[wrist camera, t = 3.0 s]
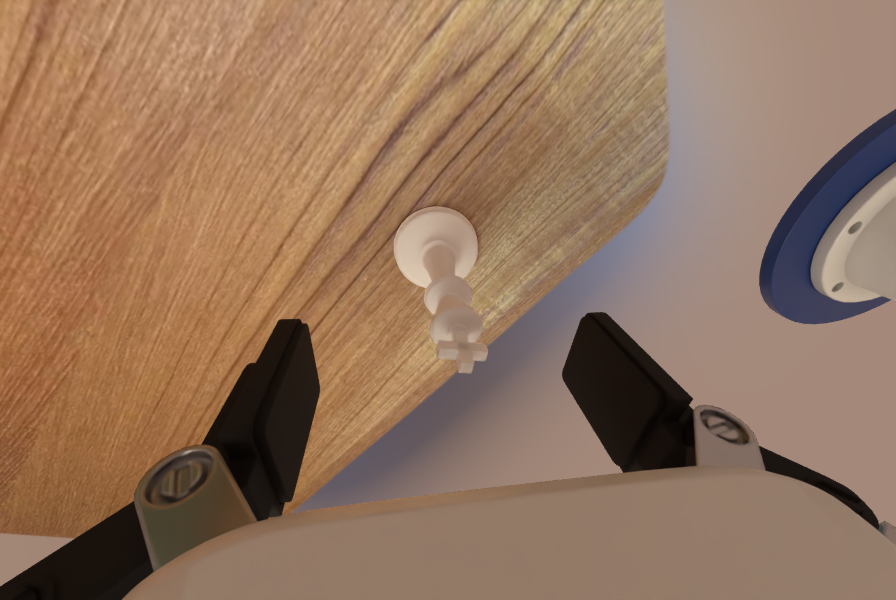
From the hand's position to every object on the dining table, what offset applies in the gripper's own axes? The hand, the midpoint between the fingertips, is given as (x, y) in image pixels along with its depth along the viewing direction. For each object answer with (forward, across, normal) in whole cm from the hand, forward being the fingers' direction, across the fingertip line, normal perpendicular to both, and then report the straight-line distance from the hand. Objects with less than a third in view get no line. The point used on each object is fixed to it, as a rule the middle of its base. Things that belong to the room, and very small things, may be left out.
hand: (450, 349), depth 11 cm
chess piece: (+9, 0, 0) cm, 9 cm away
